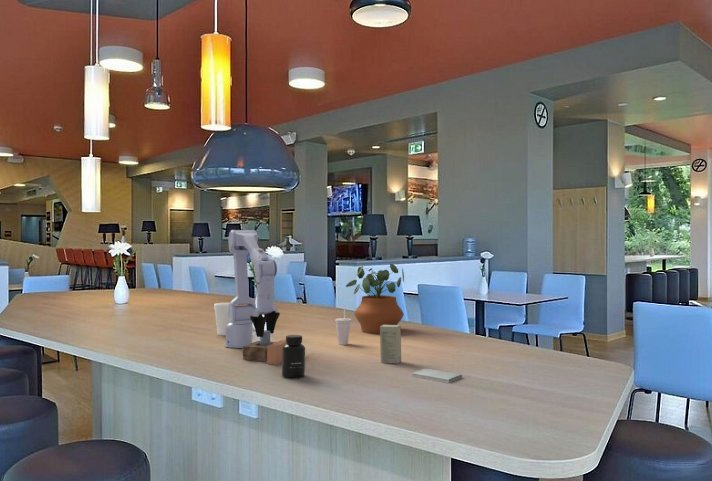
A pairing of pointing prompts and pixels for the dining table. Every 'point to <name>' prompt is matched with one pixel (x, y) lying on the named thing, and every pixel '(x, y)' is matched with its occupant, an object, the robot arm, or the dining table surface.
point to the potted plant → (377, 301)
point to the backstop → (275, 352)
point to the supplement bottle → (293, 357)
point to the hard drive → (437, 375)
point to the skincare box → (390, 343)
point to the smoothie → (343, 329)
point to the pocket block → (255, 352)
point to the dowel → (265, 339)
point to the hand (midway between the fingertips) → (265, 334)
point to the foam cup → (221, 317)
